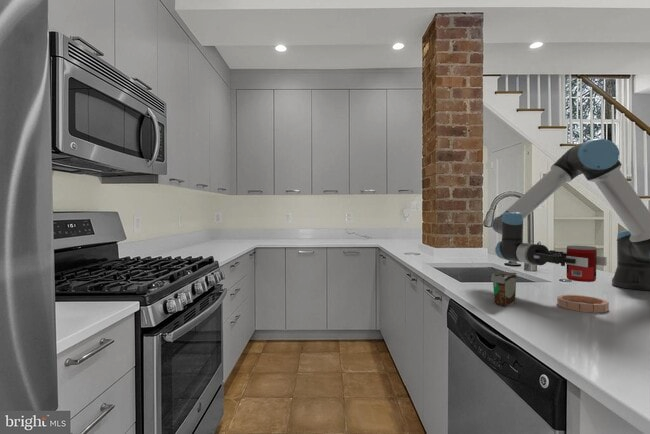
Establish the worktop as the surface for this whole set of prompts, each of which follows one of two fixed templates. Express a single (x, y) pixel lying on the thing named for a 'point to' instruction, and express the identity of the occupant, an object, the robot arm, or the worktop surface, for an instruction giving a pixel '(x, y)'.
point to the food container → (504, 288)
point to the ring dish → (583, 303)
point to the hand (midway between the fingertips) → (596, 262)
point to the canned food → (578, 271)
